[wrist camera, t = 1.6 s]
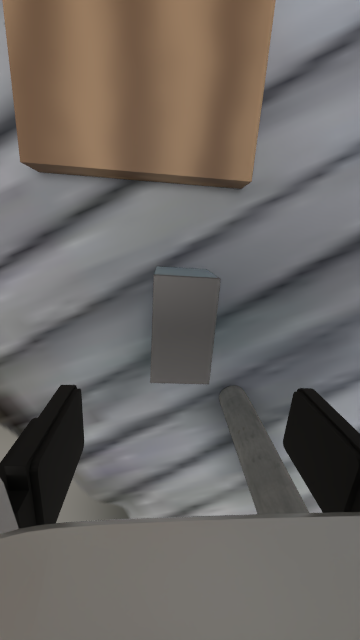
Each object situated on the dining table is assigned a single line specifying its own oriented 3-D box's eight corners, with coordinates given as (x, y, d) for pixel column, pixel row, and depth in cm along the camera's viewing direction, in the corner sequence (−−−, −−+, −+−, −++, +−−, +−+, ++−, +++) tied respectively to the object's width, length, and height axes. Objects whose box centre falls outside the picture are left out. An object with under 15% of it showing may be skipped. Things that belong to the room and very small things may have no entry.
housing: (206, 269, 26) (220, 279, 19) (198, 350, 28) (209, 384, 22) (156, 266, 25) (153, 275, 19) (153, 349, 28) (150, 382, 21)
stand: (261, 18, 20) (278, -19, 17) (240, 188, 23) (251, 181, 20) (22, -13, 18) (-4, -60, 16) (39, 172, 22) (20, 161, 19)
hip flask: (215, 390, 30) (305, 657, 11) (248, 379, 30) (398, 631, 11) (250, 484, 35) (355, 782, 16) (279, 474, 34) (420, 766, 15)
